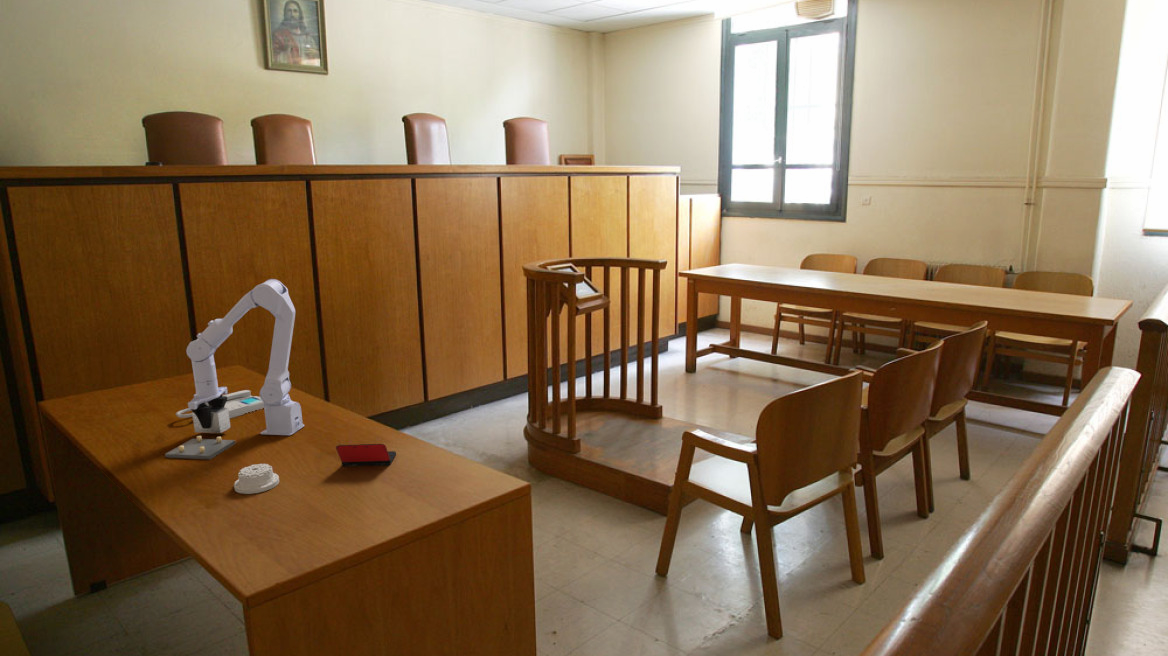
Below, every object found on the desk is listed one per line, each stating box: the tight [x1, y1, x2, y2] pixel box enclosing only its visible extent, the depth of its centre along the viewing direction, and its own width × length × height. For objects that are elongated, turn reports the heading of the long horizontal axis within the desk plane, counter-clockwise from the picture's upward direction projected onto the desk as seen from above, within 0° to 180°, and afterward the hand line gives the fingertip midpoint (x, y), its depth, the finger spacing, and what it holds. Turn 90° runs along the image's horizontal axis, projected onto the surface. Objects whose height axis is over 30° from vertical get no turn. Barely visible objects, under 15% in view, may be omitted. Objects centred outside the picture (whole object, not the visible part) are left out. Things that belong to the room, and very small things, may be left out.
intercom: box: [175, 389, 264, 420], centre depth 225 cm, size 13×4×25 cm
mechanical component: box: [233, 463, 280, 495], centre depth 174 cm, size 10×4×10 cm
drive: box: [191, 407, 231, 434], centre depth 207 cm, size 8×5×6 cm, turn 82°
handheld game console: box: [335, 443, 397, 467], centre depth 186 cm, size 12×11×7 cm
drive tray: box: [164, 435, 236, 460], centre depth 196 cm, size 13×11×2 cm
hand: (212, 424), depth 208 cm, fingers closed on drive, 5 cm apart
